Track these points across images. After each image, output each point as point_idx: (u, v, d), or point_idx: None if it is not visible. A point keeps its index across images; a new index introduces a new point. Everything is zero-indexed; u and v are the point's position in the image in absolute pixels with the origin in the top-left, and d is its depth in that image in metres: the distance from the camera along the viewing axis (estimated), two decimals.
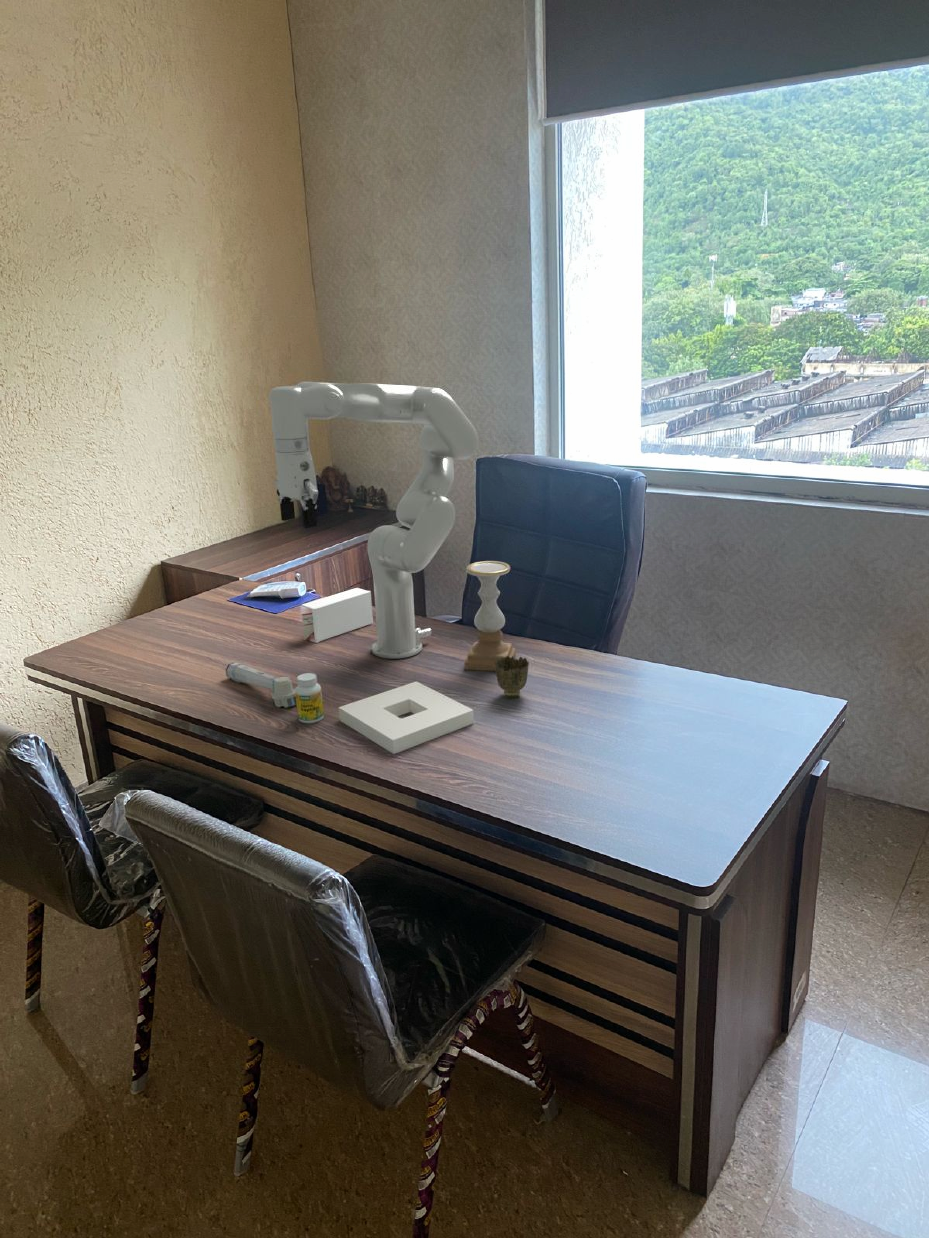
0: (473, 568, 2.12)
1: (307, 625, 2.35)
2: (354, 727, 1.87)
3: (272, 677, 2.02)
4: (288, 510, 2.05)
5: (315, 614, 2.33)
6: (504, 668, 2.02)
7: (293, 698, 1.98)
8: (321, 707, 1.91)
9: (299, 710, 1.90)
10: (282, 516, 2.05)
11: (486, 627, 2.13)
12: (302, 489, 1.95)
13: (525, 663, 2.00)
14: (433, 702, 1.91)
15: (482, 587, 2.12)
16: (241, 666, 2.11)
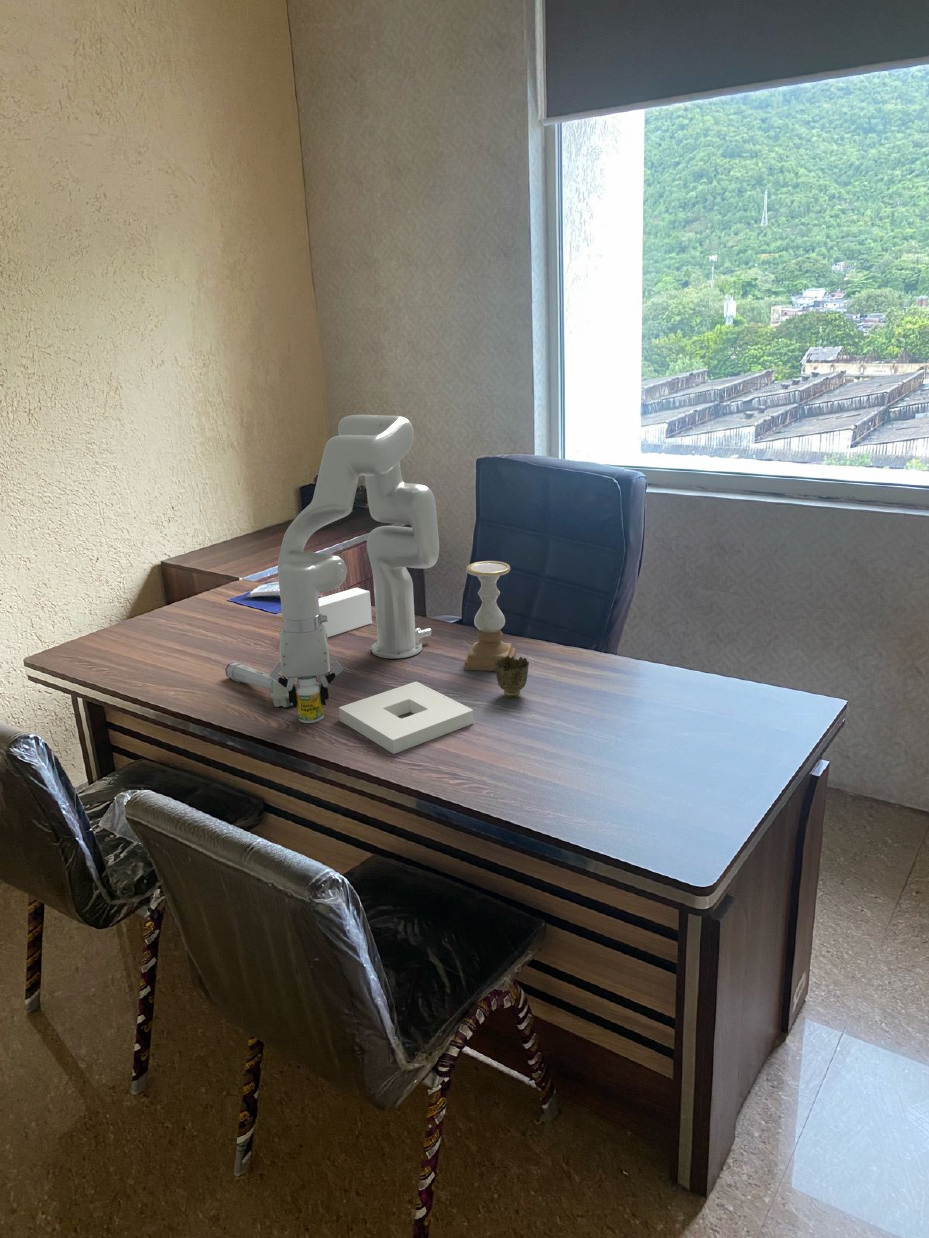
0: (473, 568, 2.12)
1: None
2: (354, 727, 1.87)
3: None
4: None
5: None
6: (504, 668, 2.02)
7: None
8: (321, 707, 1.91)
9: (299, 710, 1.90)
10: (295, 703, 1.90)
11: (486, 627, 2.13)
12: (330, 662, 1.88)
13: (525, 663, 2.00)
14: (433, 702, 1.91)
15: (482, 587, 2.12)
16: (240, 666, 2.11)
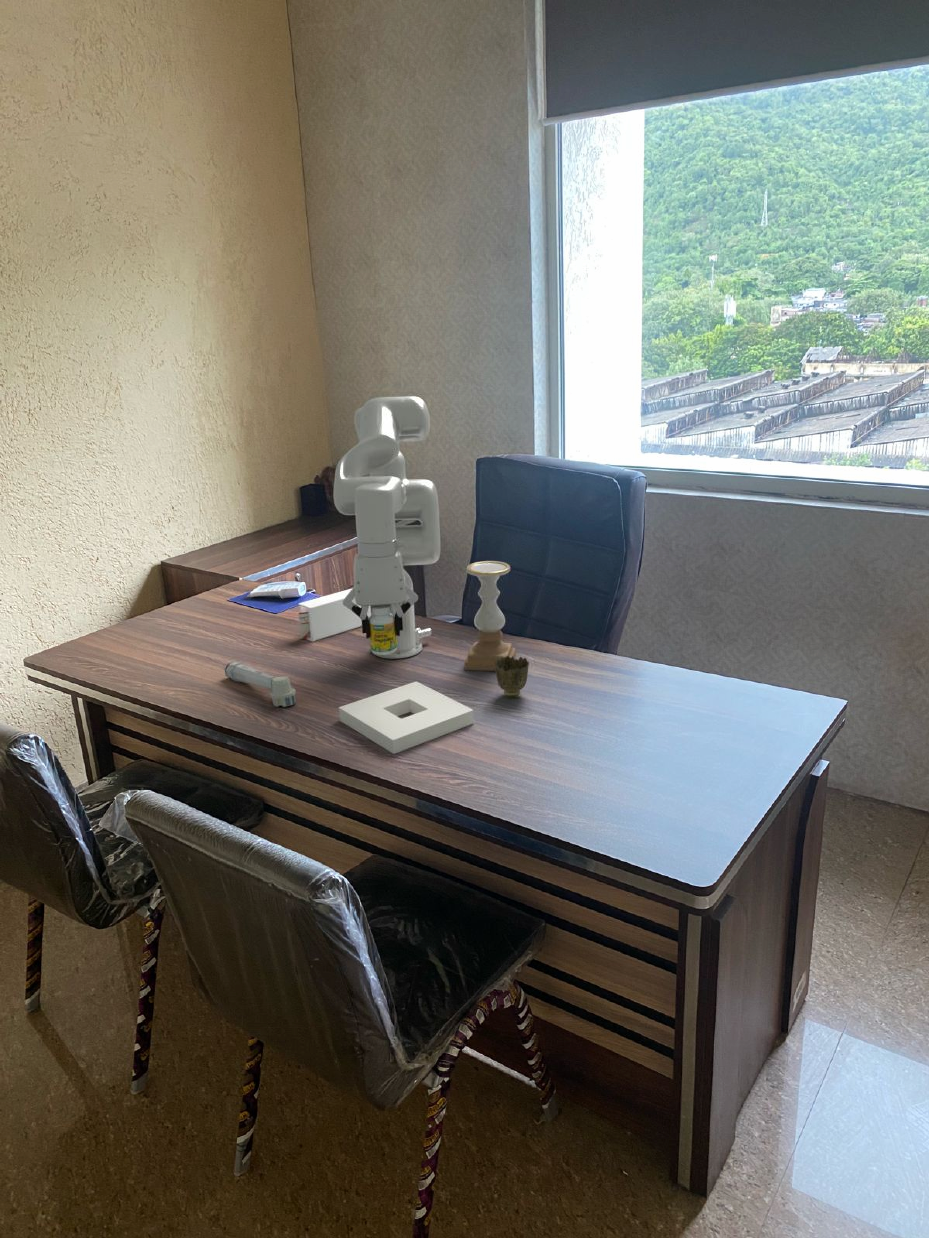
0: (473, 568, 2.12)
1: (304, 624, 2.36)
2: (354, 727, 1.87)
3: (270, 676, 2.02)
4: None
5: (311, 613, 2.33)
6: (504, 668, 2.02)
7: (291, 697, 1.98)
8: (395, 638, 1.83)
9: (372, 641, 1.83)
10: (368, 633, 1.82)
11: (486, 627, 2.13)
12: (405, 590, 1.80)
13: (525, 663, 2.00)
14: (433, 702, 1.91)
15: (482, 587, 2.12)
16: (240, 665, 2.11)
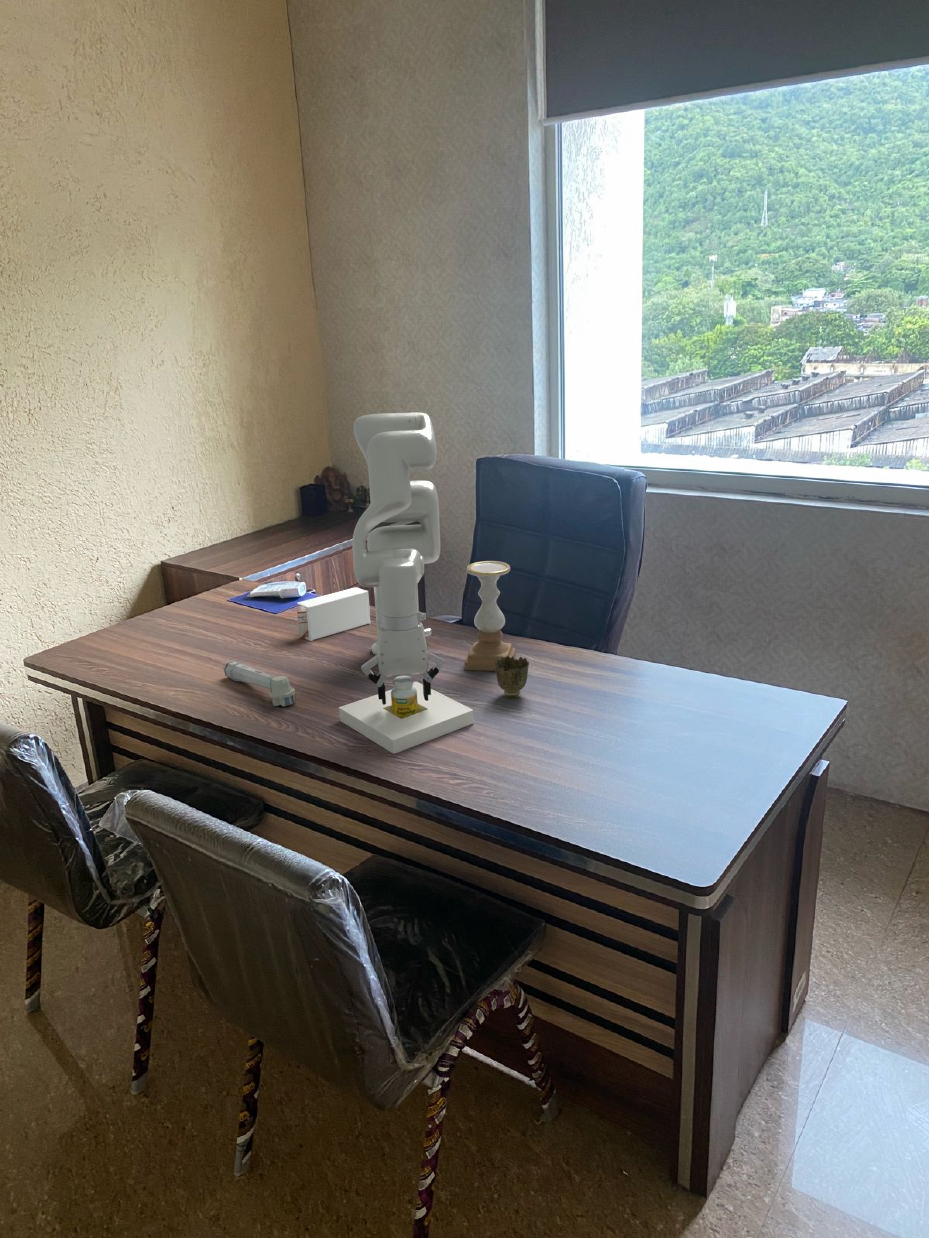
0: (473, 568, 2.12)
1: (302, 623, 2.37)
2: (354, 727, 1.87)
3: (270, 676, 2.02)
4: None
5: (309, 612, 2.34)
6: (504, 668, 2.02)
7: (290, 697, 1.99)
8: (417, 710, 1.88)
9: (395, 713, 1.87)
10: (384, 700, 1.86)
11: (486, 627, 2.13)
12: (427, 660, 1.85)
13: (525, 663, 2.00)
14: (433, 702, 1.91)
15: (482, 587, 2.12)
16: (239, 665, 2.12)
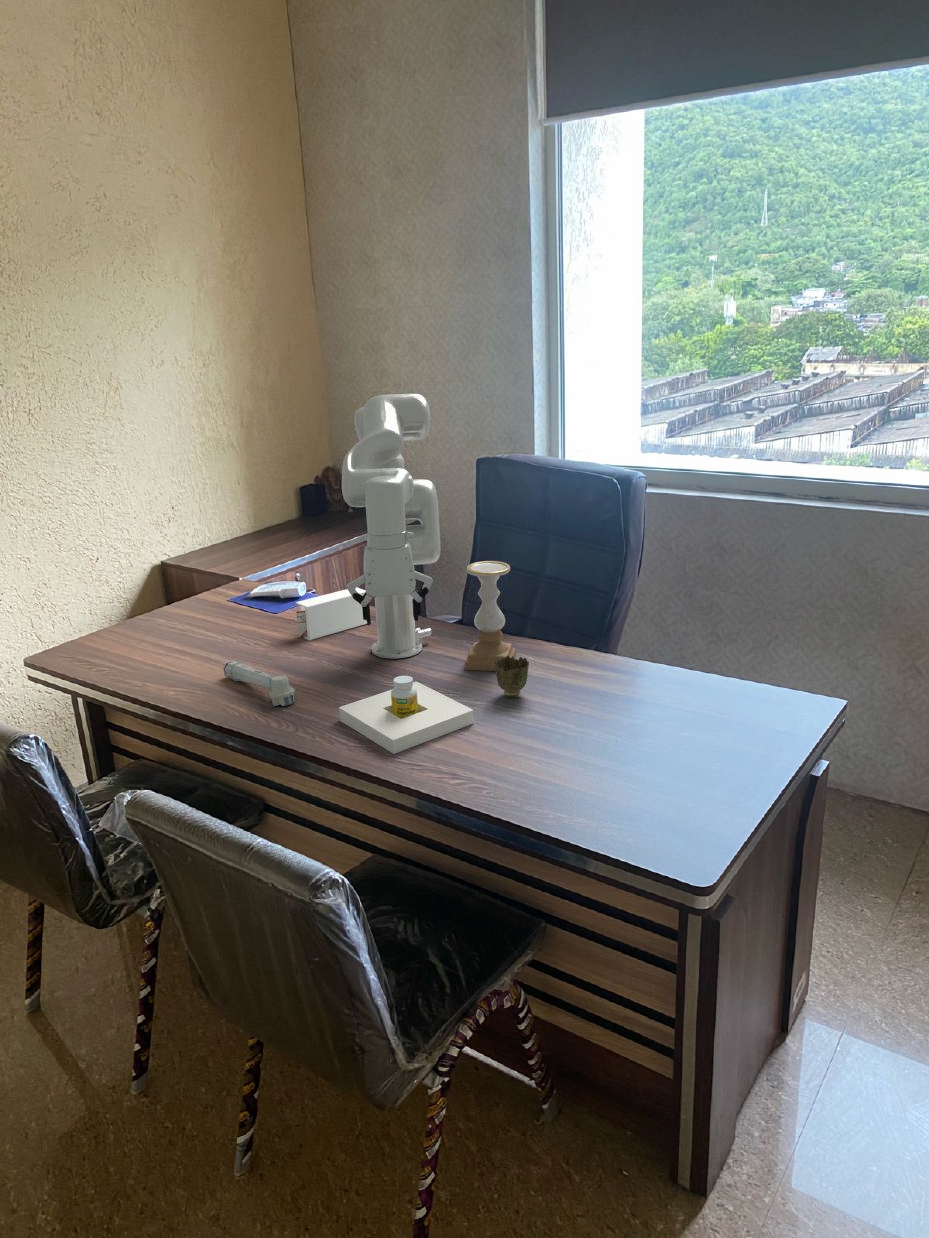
0: (473, 568, 2.12)
1: (301, 623, 2.37)
2: (354, 727, 1.87)
3: (269, 676, 2.02)
4: None
5: (308, 612, 2.34)
6: (504, 668, 2.02)
7: (290, 697, 1.99)
8: (417, 710, 1.88)
9: (395, 713, 1.87)
10: (369, 620, 1.84)
11: (486, 627, 2.13)
12: None
13: (525, 663, 2.00)
14: (433, 702, 1.91)
15: (482, 587, 2.12)
16: (239, 665, 2.12)
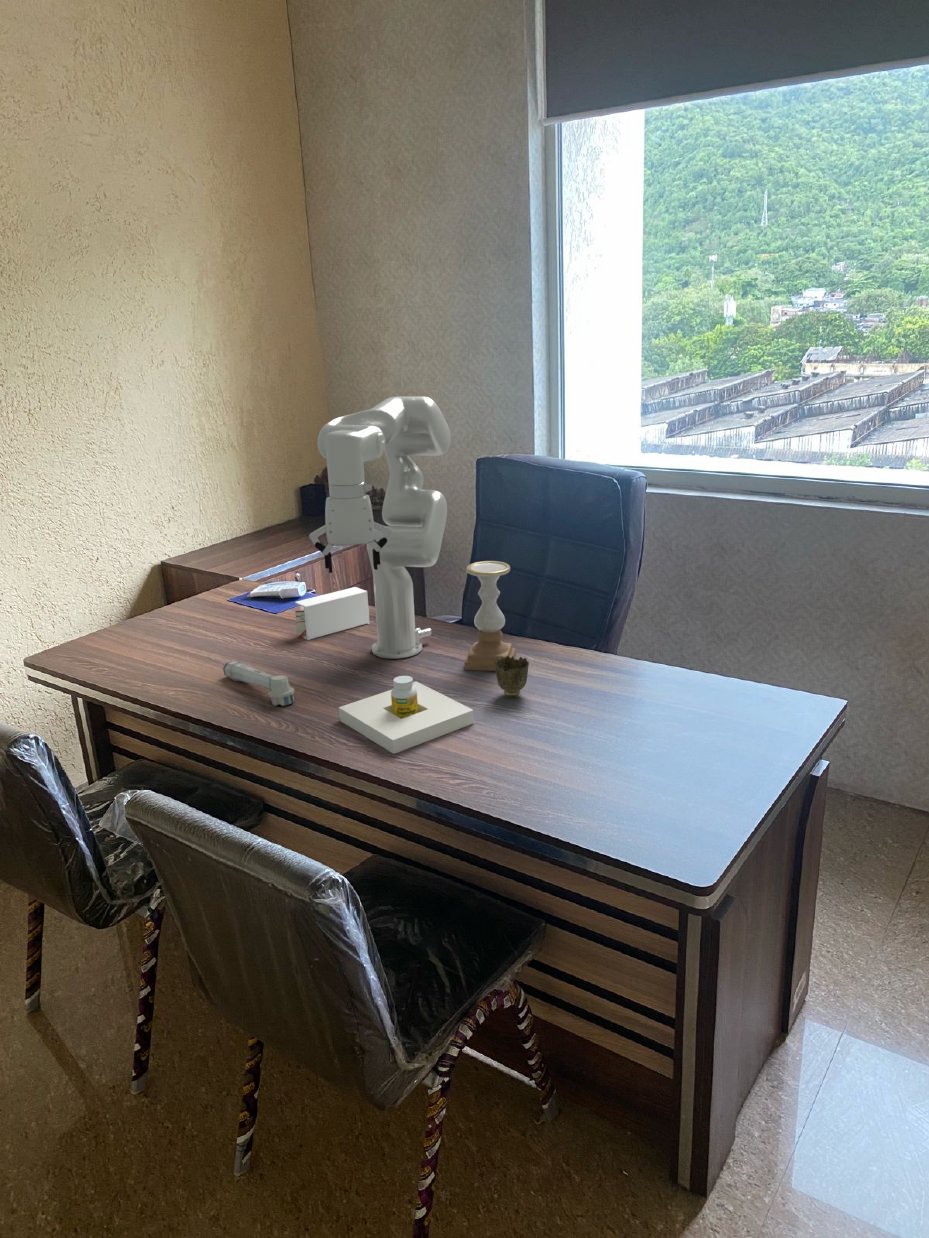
0: (473, 568, 2.12)
1: (300, 622, 2.38)
2: (354, 727, 1.87)
3: (269, 675, 2.02)
4: (331, 561, 1.95)
5: (307, 612, 2.35)
6: (504, 668, 2.02)
7: (290, 696, 1.99)
8: (417, 710, 1.88)
9: (395, 713, 1.87)
10: (330, 568, 1.94)
11: (486, 627, 2.13)
12: (374, 531, 1.93)
13: (525, 663, 2.00)
14: (433, 702, 1.91)
15: (482, 587, 2.12)
16: (239, 665, 2.12)
